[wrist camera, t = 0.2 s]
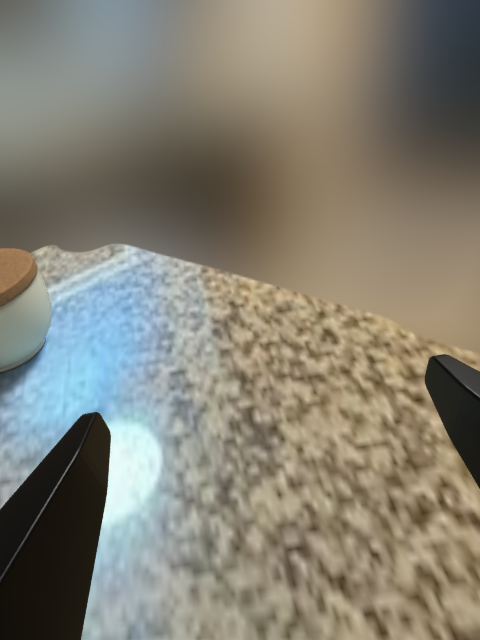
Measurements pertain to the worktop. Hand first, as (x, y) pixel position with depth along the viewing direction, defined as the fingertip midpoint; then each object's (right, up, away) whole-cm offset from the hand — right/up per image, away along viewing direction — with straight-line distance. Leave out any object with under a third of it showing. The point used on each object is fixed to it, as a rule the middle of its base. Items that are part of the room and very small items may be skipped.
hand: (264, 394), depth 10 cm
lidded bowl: (-26, -1, +30) cm, 40 cm away
